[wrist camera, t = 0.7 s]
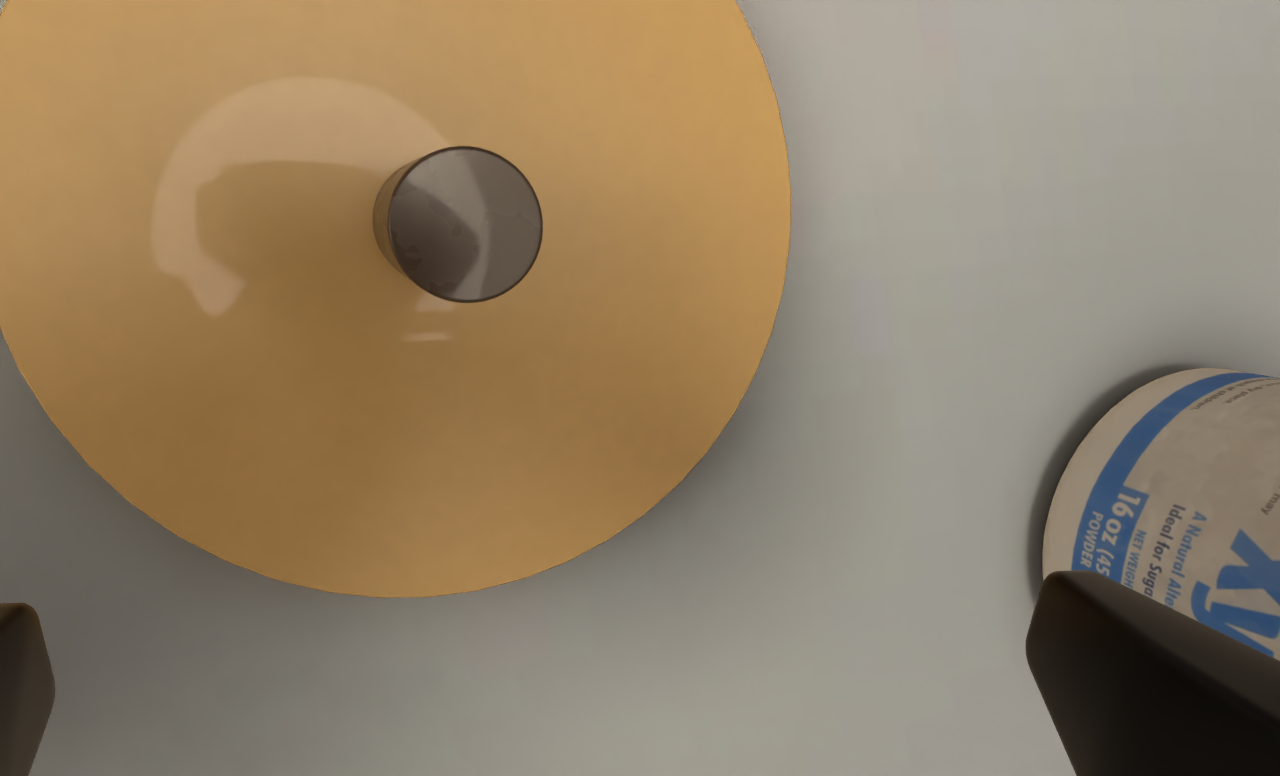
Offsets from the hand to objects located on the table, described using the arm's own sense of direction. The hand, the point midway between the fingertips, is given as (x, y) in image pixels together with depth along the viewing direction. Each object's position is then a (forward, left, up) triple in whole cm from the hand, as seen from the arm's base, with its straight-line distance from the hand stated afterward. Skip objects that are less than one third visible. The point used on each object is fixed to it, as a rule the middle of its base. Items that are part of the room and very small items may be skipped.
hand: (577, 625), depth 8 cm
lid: (+3, +2, -12) cm, 12 cm away
